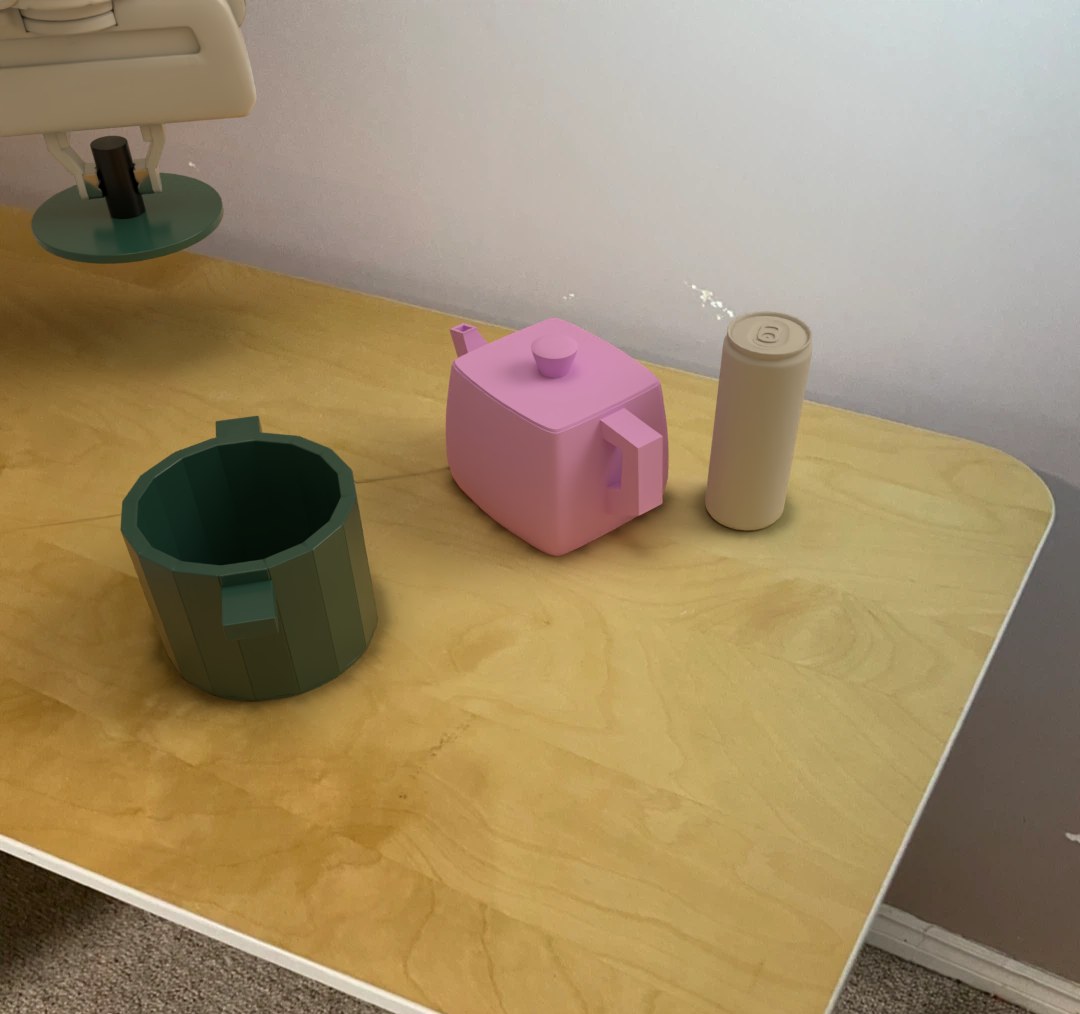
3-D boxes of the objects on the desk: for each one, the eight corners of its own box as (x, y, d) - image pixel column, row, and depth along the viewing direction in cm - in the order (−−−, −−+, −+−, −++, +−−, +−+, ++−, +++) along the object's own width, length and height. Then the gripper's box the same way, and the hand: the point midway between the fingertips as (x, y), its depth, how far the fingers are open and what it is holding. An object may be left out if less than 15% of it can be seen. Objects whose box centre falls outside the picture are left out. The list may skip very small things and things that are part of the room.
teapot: (403, 457, 74) (384, 311, 66) (528, 399, 78) (524, 256, 70) (580, 597, 64) (581, 446, 56) (711, 523, 68) (729, 372, 61)
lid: (28, 282, 73) (-4, 193, 68) (44, 197, 81) (16, 113, 77) (228, 262, 74) (209, 174, 70) (223, 181, 83) (206, 98, 78)
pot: (167, 759, 56) (113, 630, 50) (170, 549, 68) (126, 420, 61) (395, 721, 58) (372, 591, 51) (361, 521, 69) (339, 393, 62)
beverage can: (695, 527, 68) (715, 347, 59) (713, 482, 71) (735, 304, 62) (774, 542, 67) (806, 361, 58) (789, 495, 70) (821, 316, 61)
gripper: (233, -72, 69) (274, 160, 79) (-117, -51, 66) (-28, 187, 77) (237, -42, 65) (279, 198, 75) (-136, -19, 62) (-39, 228, 72)
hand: (122, 193), depth 76 cm, fingers closed on lid, 2 cm apart
